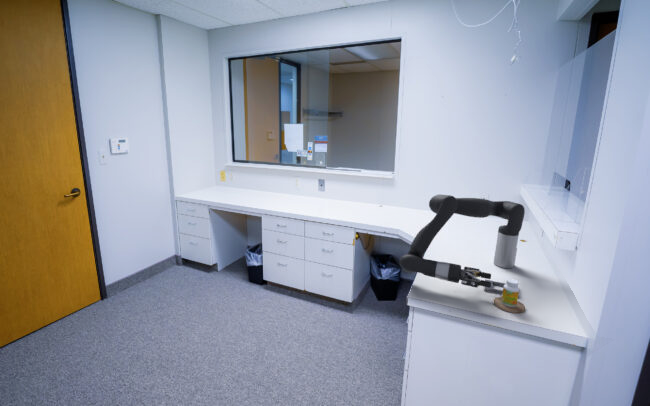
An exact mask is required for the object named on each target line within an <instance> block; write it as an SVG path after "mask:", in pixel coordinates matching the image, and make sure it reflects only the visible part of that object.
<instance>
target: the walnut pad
mask: <svg viewBox="0 0 650 406" xmlns="http://www.w3.org/2000/svg"><path fill="white" fill-rule="evenodd" d="M501 299H502V296H497V297H494V298H493V302H492V303H493V306H495V307H496V308H497V309H499V310H501V311H504V312H507V313H511V314H522V313H524V312H525V311H526V306H525V304H524V303H523V302H521V301H518V300H517V305H516V306H515V307H509V306H506V305H504V304H503V303H502V302H501Z"/></svg>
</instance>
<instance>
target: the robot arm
mask: <svg viewBox="0 0 650 406" xmlns="http://www.w3.org/2000/svg"><path fill="white" fill-rule="evenodd" d="M428 202H429V203H428V206H429V209H430V210H431V211H432V212H433V213H434V214H435V216H434V217H433V219H431V221H430V222H428V223H427V224H426V225H425V226H423V227H422V228H421V229H420V230H419V231H418V232H417V234H416V235H415V237H414V239H413V240H412V242H411V244H410V246H409V250H408V252H407V254H404V255H402V256H401V257H400V259H399V265H400V268H401V269H402V270H403V271H404V272H405V273H408V274H411V273H414V272H415V273H419V274H422V275H424V276H425V277H426V276H427V277H432V278H434V279H435V278H436V279H439V280H442V281H446V282H451V283H455V284H459V283H460V281H461V285H463V286H468V287H473V288H476V289H477V288H479V287H480V286H481V287H484V288H485V287H489V288H490V287H491V282H489V281H485V279H486V280H491V279H492V273H490V272H489V273H488V272H484V271H482V270H480V268H476V267H471V266H464V267H463V268H462V266H461V264H456V263H451V262H447V261H446V262H445V261H437V260H432V259H426V258H424V256H425V255H424V254H426V252H427V250H428V248H429V247H430V246H431V244H432V242H433V240H434V239H435V238H436V236H437V235H438V233H439V232H440V231H441V230H442V229H443V227H444V226H445V225H446V224H447V222H448V221H449V220H450V219H451V218H452V217H453V215H454V214H456V215H460V216H464V217H470V218H479V219H481V218H487V217H489V216H492V217H497V218H501V219H504V220H506V221H507V222H506V223H507V224H506V225H500V226H498V231H497V235H496V236H497V238H496V243H495V244H496V245H495V251H494V256H493V257H494V258H493V264H494V265H495V266H496V267H499V268H503V269H513V268H514V266H515V264H516V259H517V258H516V257H517V252H518V251H517V250H518V240H519V235H520V231H521V230H522V227H523V223H524V222H523V221H524V218H525V214H526V213H525V211H526V209H525V206H524V205H523V204H521V203H517V202H514V201H507V200H501V201H500V200H499V201H496V200H495V201H493V200H490V199H487V198H486V199H485V198H477V197H455V196H453V195H450V194H449V195H448V194H435V195H433V196H432V197H431V198H430V200H429V201H428ZM480 278H481V279H480ZM482 279H483V280H482Z"/></svg>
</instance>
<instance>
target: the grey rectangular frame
mask: <svg viewBox="0 0 650 406" xmlns="http://www.w3.org/2000/svg"><path fill="white" fill-rule="evenodd" d="M484 281H489V282H491V287H490V288H489V287H484V290H483V291H484V292H487V293H494V294H499V295H502V293H503V289H502V290H500V289H497V288H493V286H497V287H502V288H503V287H504V285H505V284H506V283H505V282H499V281H494V280H491V279H486V278H484ZM517 287H518V288H519V285H518V286H517ZM520 295H521V294H519V295H518V299H520Z"/></svg>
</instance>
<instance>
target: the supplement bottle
mask: <svg viewBox="0 0 650 406" xmlns="http://www.w3.org/2000/svg"><path fill="white" fill-rule="evenodd" d="M517 286H518V287H517ZM502 291H503V293H502V294H501V297H502V299H501V302H502V303H503V304H504V305H506V306H509V307H515V306H516V305H517V301H518V300H519V298H518V295H520V287H519V281H518V280H516V279H512V278H507V279H506V283H505V285H504V287H502Z"/></svg>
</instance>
